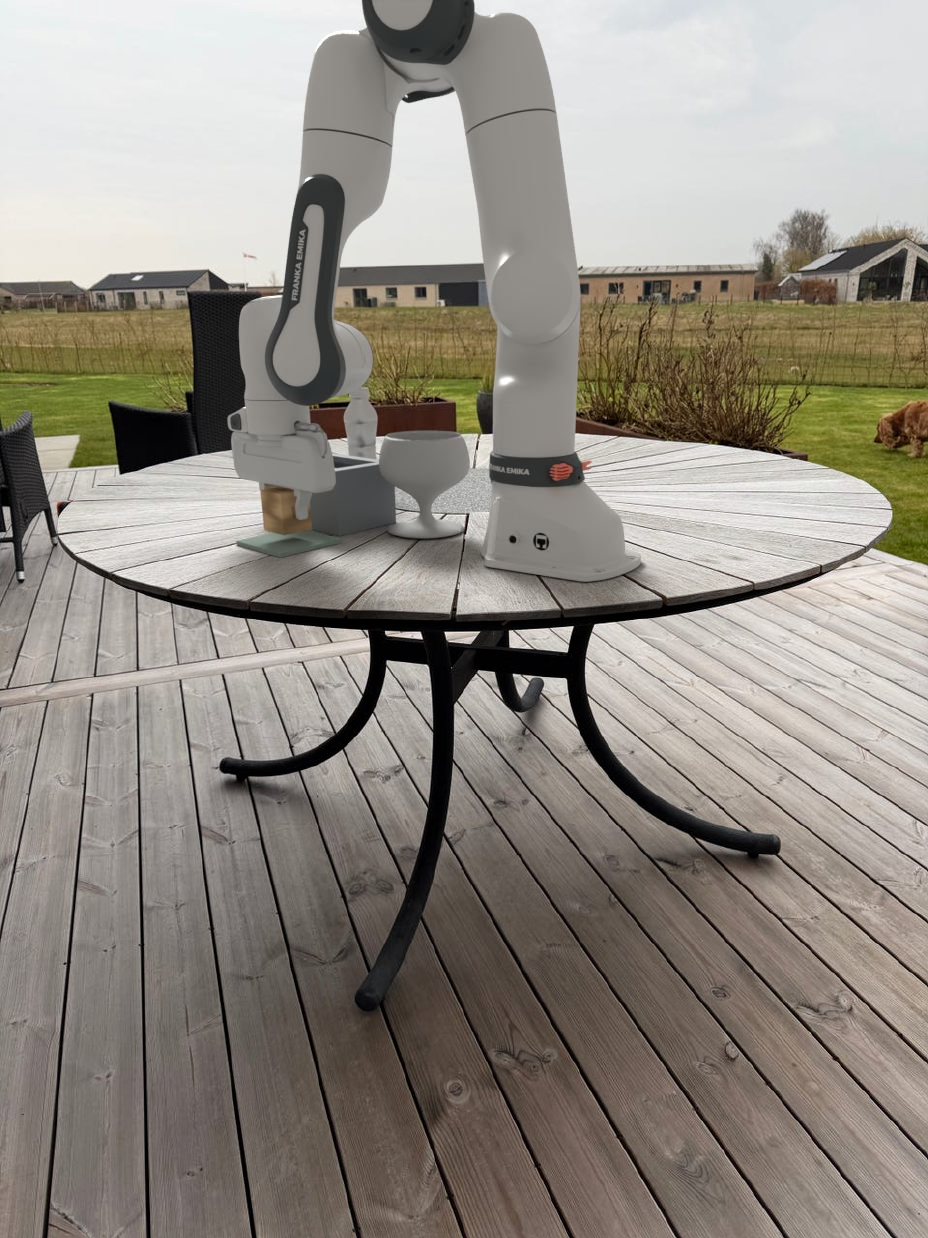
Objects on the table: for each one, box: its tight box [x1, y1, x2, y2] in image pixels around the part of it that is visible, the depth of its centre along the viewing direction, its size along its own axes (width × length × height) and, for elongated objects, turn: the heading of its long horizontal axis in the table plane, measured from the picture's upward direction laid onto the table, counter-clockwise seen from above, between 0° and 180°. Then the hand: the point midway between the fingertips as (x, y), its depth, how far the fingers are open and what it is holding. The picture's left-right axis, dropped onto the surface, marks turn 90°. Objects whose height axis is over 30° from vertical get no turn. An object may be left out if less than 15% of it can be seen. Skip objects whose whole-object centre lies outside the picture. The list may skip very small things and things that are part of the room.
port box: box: [276, 452, 397, 537], centre depth 130 cm, size 18×12×10 cm, turn 48°
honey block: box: [259, 487, 313, 535], centre depth 116 cm, size 5×5×6 cm
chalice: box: [378, 430, 471, 539], centre depth 122 cm, size 14×14×15 cm
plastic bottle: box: [343, 386, 378, 460], centre depth 150 cm, size 6×7×20 cm
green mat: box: [235, 530, 342, 558], centre depth 118 cm, size 11×11×1 cm
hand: (287, 515), depth 116 cm, fingers closed on honey block, 5 cm apart
